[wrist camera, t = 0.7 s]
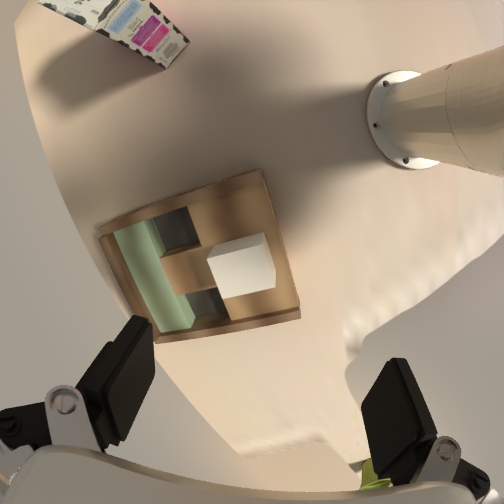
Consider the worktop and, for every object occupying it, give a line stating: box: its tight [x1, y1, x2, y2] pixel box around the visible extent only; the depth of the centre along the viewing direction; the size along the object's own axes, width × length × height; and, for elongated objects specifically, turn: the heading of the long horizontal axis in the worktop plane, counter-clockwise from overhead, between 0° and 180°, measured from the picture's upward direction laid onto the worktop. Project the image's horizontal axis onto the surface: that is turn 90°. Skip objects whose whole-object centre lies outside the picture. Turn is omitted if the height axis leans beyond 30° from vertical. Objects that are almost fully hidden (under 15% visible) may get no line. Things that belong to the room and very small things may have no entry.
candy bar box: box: [38, 0, 190, 69], centre depth 20 cm, size 11×5×16 cm, turn 50°
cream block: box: [207, 232, 276, 299], centre depth 32 cm, size 6×5×4 cm
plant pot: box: [359, 458, 391, 490], centre depth 52 cm, size 9×9×9 cm
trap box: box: [99, 169, 301, 344], centre depth 36 cm, size 21×18×5 cm
